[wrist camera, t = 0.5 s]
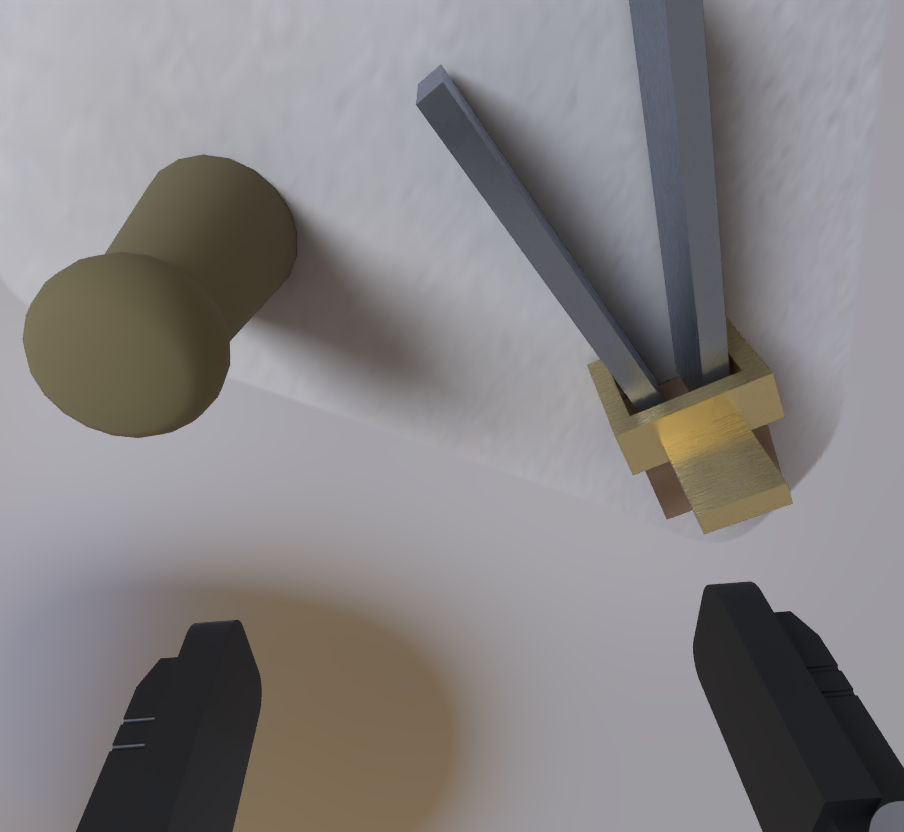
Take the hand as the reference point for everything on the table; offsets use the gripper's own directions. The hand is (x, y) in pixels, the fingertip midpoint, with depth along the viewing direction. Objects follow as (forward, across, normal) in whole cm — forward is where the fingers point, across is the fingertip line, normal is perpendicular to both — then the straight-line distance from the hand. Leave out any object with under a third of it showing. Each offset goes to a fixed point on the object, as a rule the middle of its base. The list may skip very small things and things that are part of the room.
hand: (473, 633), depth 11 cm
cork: (+19, +9, -2) cm, 21 cm away
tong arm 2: (+18, -4, -1) cm, 18 cm away
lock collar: (+18, -9, +5) cm, 21 cm away
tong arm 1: (+18, -9, -3) cm, 20 cm away
